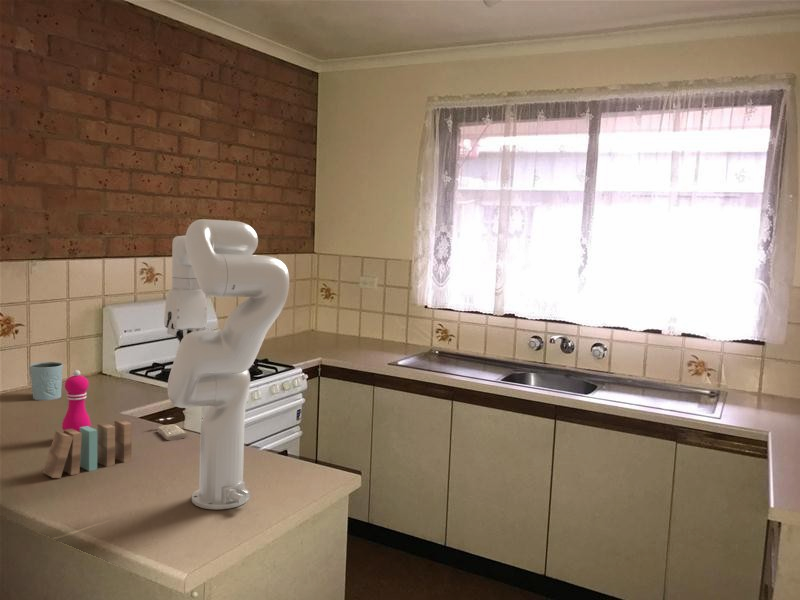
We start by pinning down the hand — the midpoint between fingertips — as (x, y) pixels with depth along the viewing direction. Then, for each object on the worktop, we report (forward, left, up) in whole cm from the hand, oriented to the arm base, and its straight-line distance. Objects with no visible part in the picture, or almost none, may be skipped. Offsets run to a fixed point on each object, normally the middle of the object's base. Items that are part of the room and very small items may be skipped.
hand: (186, 355), depth 172 cm
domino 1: (+13, +28, -28) cm, 41 cm away
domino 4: (+13, +14, -28) cm, 34 cm away
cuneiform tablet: (+28, -12, -26) cm, 40 cm away
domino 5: (+13, +10, -28) cm, 32 cm away
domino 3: (+13, +19, -28) cm, 36 cm away
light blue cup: (+87, -3, -28) cm, 91 cm away
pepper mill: (+36, +11, -28) cm, 47 cm away
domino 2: (+13, +23, -28) cm, 39 cm away
